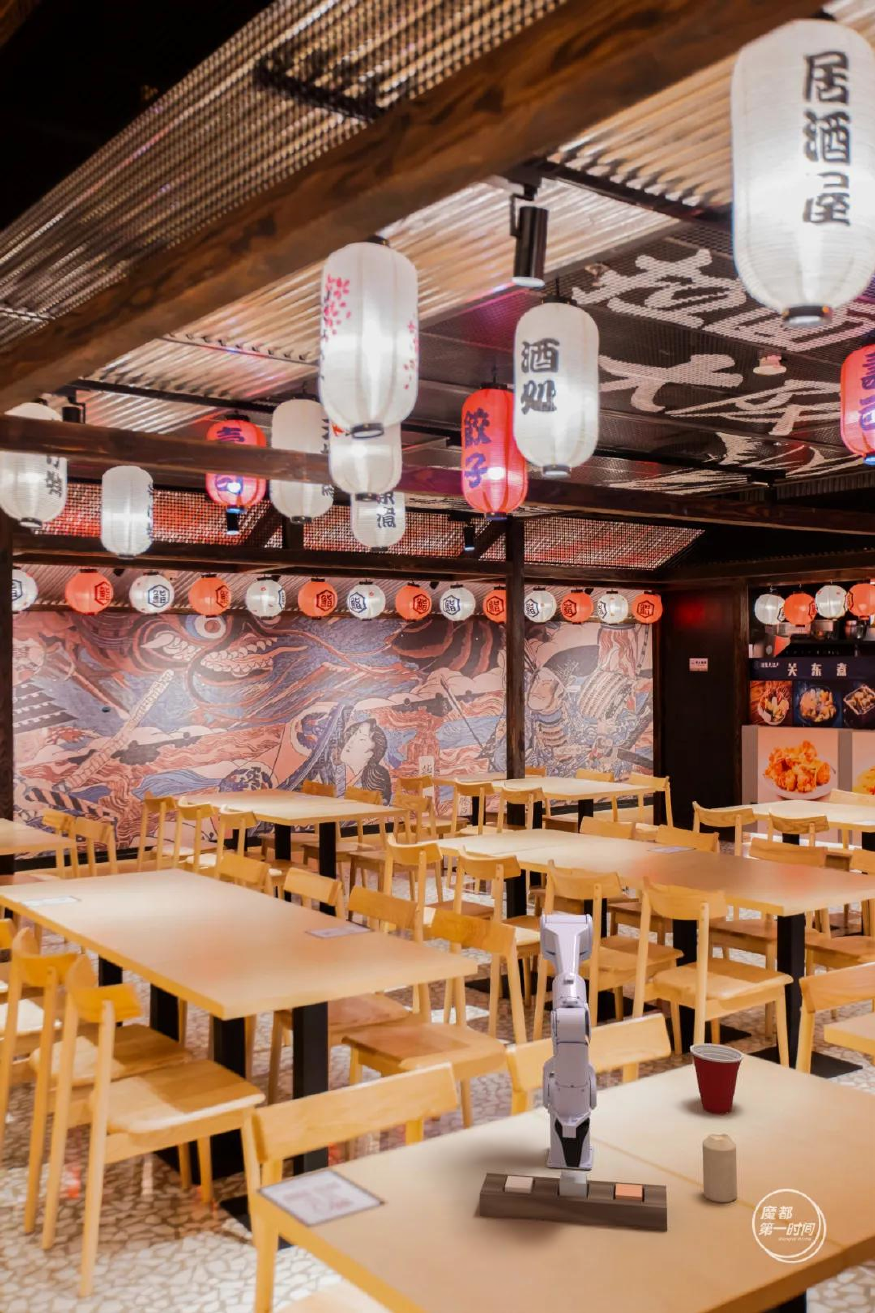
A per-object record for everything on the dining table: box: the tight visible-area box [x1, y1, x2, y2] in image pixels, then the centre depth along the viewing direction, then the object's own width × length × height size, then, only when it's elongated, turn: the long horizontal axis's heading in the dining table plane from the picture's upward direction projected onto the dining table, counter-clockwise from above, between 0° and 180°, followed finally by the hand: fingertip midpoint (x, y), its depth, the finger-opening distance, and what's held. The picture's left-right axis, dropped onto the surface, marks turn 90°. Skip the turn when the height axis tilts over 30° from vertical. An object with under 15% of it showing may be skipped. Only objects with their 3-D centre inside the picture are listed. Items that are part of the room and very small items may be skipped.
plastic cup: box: [689, 1042, 745, 1115], centre depth 223 cm, size 11×11×12 cm
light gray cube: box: [559, 1170, 588, 1198], centre depth 179 cm, size 4×4×4 cm
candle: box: [702, 1133, 738, 1203], centre depth 184 cm, size 6×6×10 cm
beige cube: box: [505, 1176, 533, 1194], centre depth 180 cm, size 4×4×4 cm
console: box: [479, 1172, 668, 1231], centre depth 179 cm, size 8×30×4 cm, turn 79°
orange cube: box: [615, 1184, 642, 1202], centre depth 177 cm, size 4×4×4 cm
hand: (573, 1165), depth 179 cm, fingers closed
